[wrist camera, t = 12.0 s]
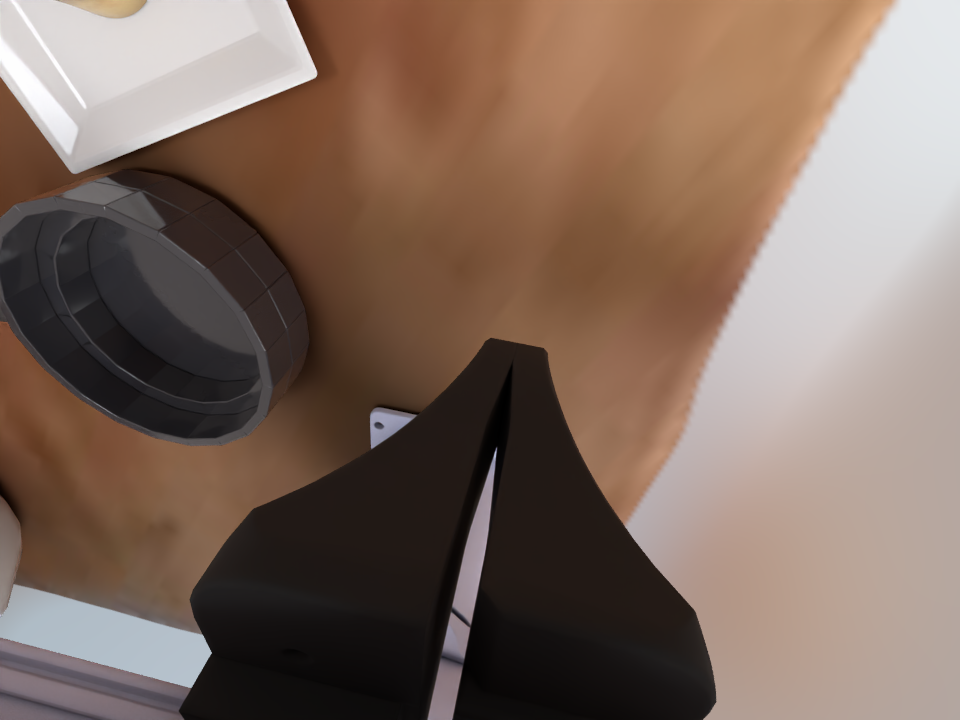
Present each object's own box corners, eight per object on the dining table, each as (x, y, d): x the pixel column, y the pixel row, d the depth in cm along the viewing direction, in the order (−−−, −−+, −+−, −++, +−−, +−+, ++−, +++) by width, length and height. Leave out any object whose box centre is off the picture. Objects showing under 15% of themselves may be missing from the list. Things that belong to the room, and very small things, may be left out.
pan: (323, 413, 28) (288, 468, 24) (119, 369, 28) (59, 417, 25) (298, 193, 20) (242, 231, 17) (23, 145, 21) (-78, 172, 18)
